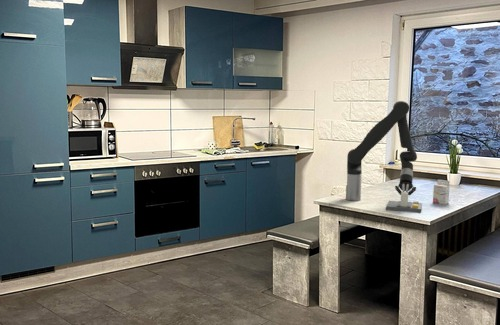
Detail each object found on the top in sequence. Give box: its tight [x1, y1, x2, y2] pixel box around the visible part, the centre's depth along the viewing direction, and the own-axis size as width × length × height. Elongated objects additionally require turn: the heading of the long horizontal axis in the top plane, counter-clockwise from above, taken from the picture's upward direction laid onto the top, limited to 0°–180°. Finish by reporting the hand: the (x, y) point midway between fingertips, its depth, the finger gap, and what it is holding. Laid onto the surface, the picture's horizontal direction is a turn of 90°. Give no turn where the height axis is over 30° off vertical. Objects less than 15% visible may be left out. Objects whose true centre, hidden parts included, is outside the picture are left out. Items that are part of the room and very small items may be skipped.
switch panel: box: [385, 200, 423, 213], centre depth 308 cm, size 20×18×4 cm
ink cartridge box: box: [432, 179, 451, 205], centre depth 322 cm, size 9×5×15 cm, turn 44°
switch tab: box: [400, 191, 409, 207], centre depth 303 cm, size 4×4×8 cm
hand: (404, 200), depth 305 cm, fingers closed
